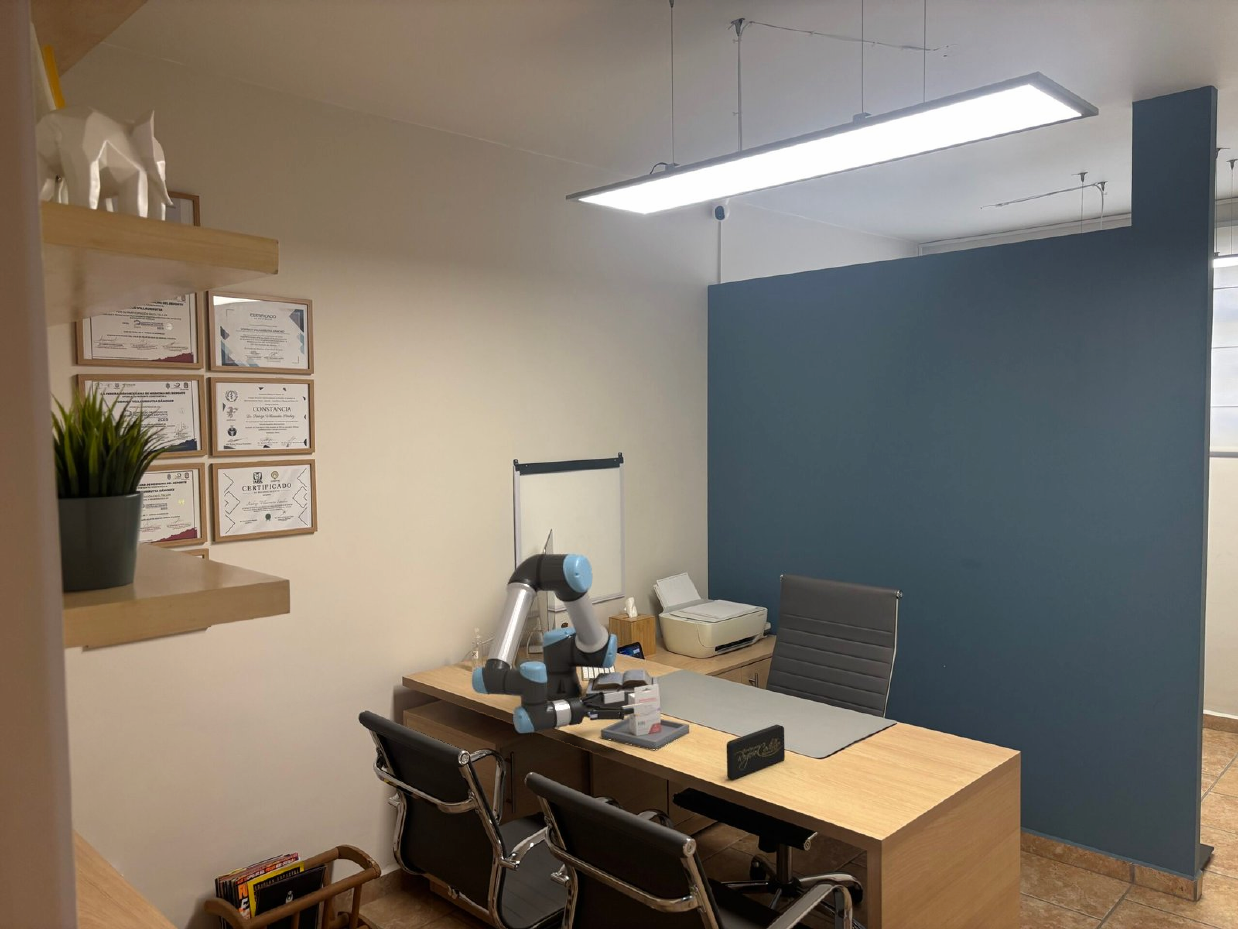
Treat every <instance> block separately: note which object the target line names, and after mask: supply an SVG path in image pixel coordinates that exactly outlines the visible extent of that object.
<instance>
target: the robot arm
mask: <svg viewBox="0 0 1238 929" xmlns="http://www.w3.org/2000/svg"><path fill="white" fill-rule="evenodd" d="M592 571H593V567H592V565H591V563H590V560H588V558H587V557H586V555H585V556H584V555H582V554H576V553H562V554H561V553H558V554H557V553H556V554H555V553H538V554H534V555H531V556H529V557H528V558H526V559H525V560H524V561H522V562H521V563H520V564H519V565H518V566H517V567H516V568H515V569H514V570H513V572H512V574H511V576H510V578H508V583H507V584H506V589H505V590H506V593H507V596H506V599H505V602H504V604H503V609H502V611H501V615H500V617H499V621H498V624H497V628H496V630H495V633H494V636H493V640H492V642H491V646H490V648H489V652H488V655H487V658H486V662H485V663H484V666H477V667H476V668H475V670H473V672H472V677H471V687H472V689H473V690H474V692H475V693H478V694H483V695H497V696H499V695H501V696H502V695H503V696H513V697H514V696H515V697H520V705H519V706H516V707H515V708H514V709H513V715H512V720H513V724H514V728H515V730H516V731H517V732H518V733H519V734H527V733H535V732H536V733H537V732H540V731H546V730H551V729H557V730H560V728H562V727H568V726H576V725H581V724H582V723H583V720H584V718H588V719H589V721H599V720H600V721H603V720H605V721H606V720H607V721H608V720H613V721H614V720H620V721H621V720H624V719H625V717H629V715H634V714H640V713H643V703H639V704H633V705H627V706H622V708H617V707H602V706H601V705H600V704H602V703H603V701H604V703H605V704H606V703H612V702H619V701H624V691H621V692H615V693H609V694H604V695H603V692H599V693H594V694H592V695H589V696H586V695H585V696H584V697H582V698H579V697H581V696H583V687H582V684H581V682H580V677H579V676H578V670H577V668H591V669H592V668H593V669H610V668H612V667H613V666H614V665H615V662H616V659H617V653H618V636H617V635H616V634H613V633H608V630H607V629H606V627H604V626H603V624H602V625H601V623H600V621H599V618H598V616H597V613H596V612H597V611H596V610H595V608H594V605H593V602H592V600H591V599H592V598H591V597H590V594H589V590H590V589H591V588H592V583H593V573H592ZM541 591H542V592H553V594H554V595H555V597H556V598H557V600H559V601H561V602H562V603H563V605H564V607H565V610H566V612H567V615H568V616H569V619H570V622H571V624H572V626H573V627H571V626H570V627H569V626H568V627H560V628H559V627H558V628H555V629H552V630H548V631H545V633H544V634H543V636H542V646H541V647H542V662H541V661H537V660H536V661H534V660H533V661H526V662H523V663H521V665H519V666H520V667H519V668H511V667H512V665H513V661H514V658H515V655H516V651H517V648H518V645H519V641H520V638H521V634H522V631H523V629H524V625H525V622H526V618H527V615H528V613H529V608H530V605H531V602H532V601H533V600H534V599H535V598H536V596H537V593H538V592H541ZM535 600H536V599H535Z"/></svg>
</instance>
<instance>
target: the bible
mask: <svg viewBox="0 0 1238 929" xmlns="http://www.w3.org/2000/svg"><path fill="white" fill-rule="evenodd" d="M654 684H658V685H659V676H650V674H649V672H648V671H647V670H646V669H644V668H641V669H638V668H637V669H627V670H625V671H624V673H623V672H622V673H621V672H619V671H612V672H600V673H599V674H597V675H596V677H590V678H589V680H588V683H587V686H586V691H585V697H586V696H589V695H592V694H594V693H599V692H603V695H604V694H609V693H615V692H621V691H624V701H619V702H612V703H606V704H605V703H604V701H603V703H602V704H600V705H601V706H602V707H617V708H622V706H627V705H629V701H628V694H632V693H635V692H634V688H635V687H641V686H647V685H654ZM650 690H651V689H647V688H646V689H645V690H643V691H642V692H645V691H650Z"/></svg>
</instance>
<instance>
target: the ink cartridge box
mask: <svg viewBox="0 0 1238 929" xmlns="http://www.w3.org/2000/svg"><path fill="white" fill-rule="evenodd" d="M646 688H647V689H651V690H650V691H645V692H642V691H643V690H645V689H646ZM659 691H660V690H659V683H658V684H654V685H647V686H641V687H635V688H634V692H635V693H632V694H628V701H629V705H633V704H639V703H643V713H640V714H634V715H628V717H629V724H630V732H631V733H633V734H634V735H635V736H640V735H645V734H651V733H656V732H660V731H661V720H660V719H661V702H660V701H661V698H660V697H661V696H660V692H659Z"/></svg>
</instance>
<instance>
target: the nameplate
mask: <svg viewBox="0 0 1238 929" xmlns="http://www.w3.org/2000/svg"><path fill="white" fill-rule="evenodd" d="M785 750H786V749H785V726H783V725H779V724H774V725H771V726H768V727H765V728H763V729H760V730H756V731H754V732H751V733H748V734H746V735H742V736H740V737H736V738H734V739H732V740H729V741H727V743H726V773H727V774H726V776H727V777H726V778H728V779H729V780H732V781H737V780H739V779H742V778H744V777H747V776H749V775H751V774H754V773H757V772H759V771H763V770H764V769H767V768H770V767H772V766H774V765H777V764H780V763H782V762H784V761H785V757H786V756H785V755H786V751H785Z"/></svg>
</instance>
